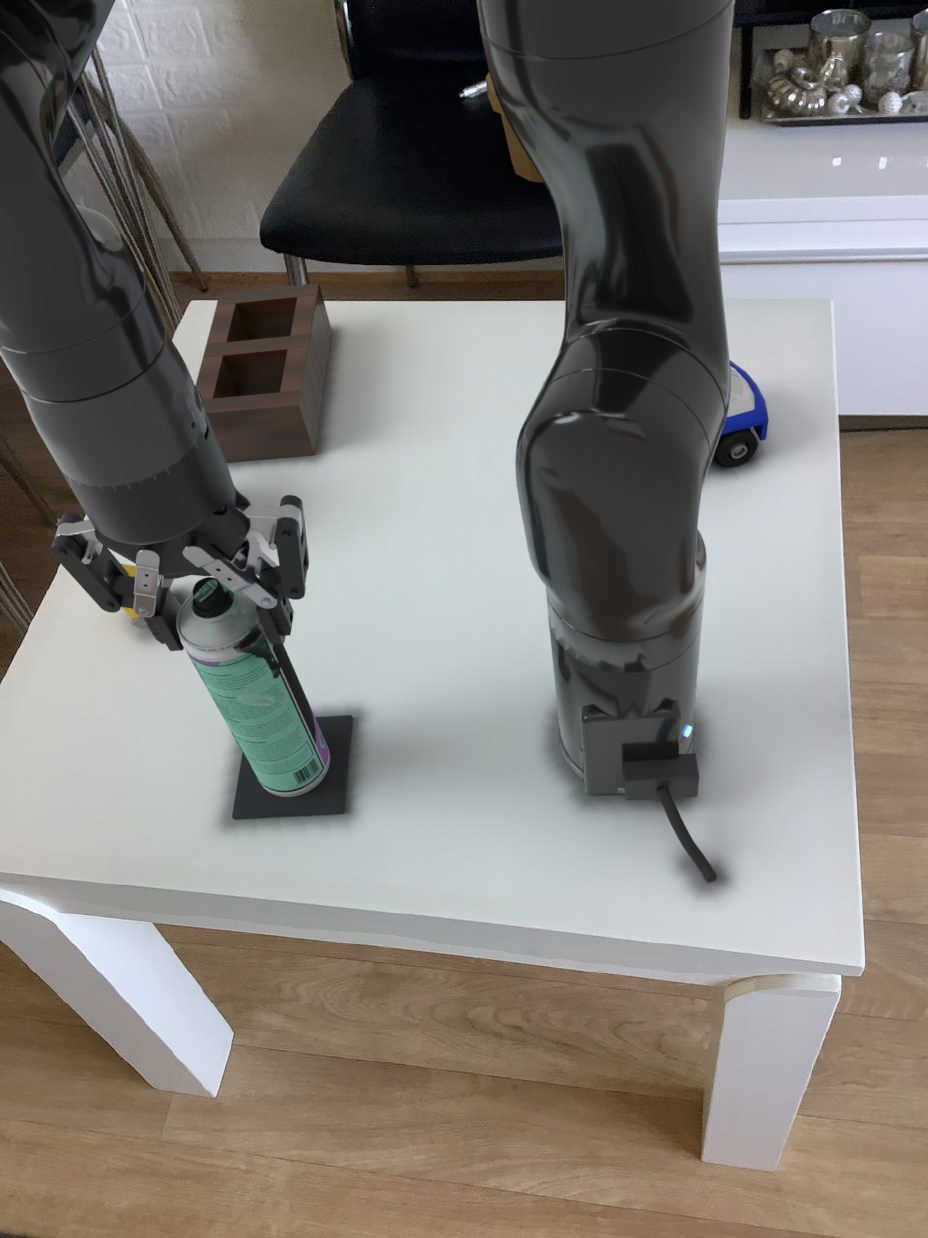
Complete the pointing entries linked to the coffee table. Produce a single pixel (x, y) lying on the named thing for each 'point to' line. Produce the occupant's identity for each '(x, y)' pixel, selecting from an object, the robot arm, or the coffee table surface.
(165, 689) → the coffee table surface
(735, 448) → the toy car
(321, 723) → the tool mat
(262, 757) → the spray can
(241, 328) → the can holder
